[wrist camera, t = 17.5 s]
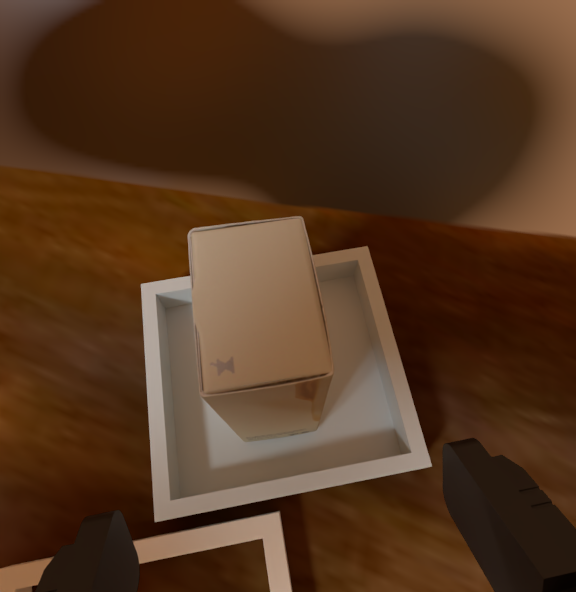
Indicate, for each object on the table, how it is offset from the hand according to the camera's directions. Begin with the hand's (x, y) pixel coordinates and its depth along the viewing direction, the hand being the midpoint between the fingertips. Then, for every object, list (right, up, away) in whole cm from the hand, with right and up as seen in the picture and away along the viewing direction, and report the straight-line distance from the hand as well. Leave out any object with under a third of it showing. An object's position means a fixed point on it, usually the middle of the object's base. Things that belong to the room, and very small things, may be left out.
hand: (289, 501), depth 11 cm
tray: (-1, 0, +16) cm, 16 cm away
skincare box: (-1, 0, +15) cm, 15 cm away
